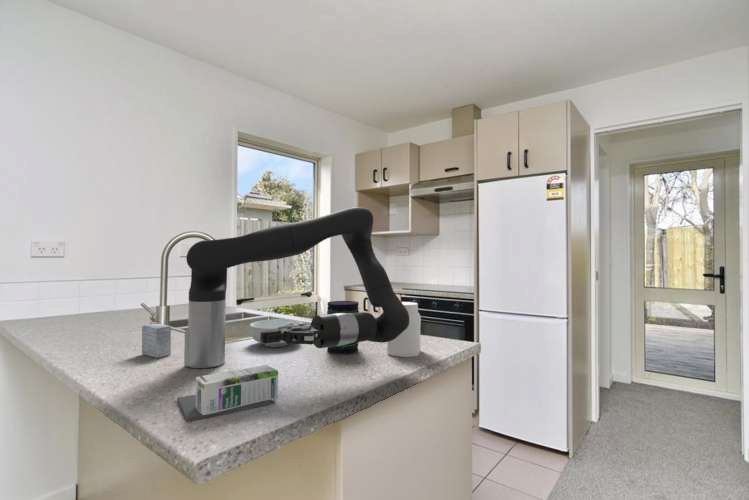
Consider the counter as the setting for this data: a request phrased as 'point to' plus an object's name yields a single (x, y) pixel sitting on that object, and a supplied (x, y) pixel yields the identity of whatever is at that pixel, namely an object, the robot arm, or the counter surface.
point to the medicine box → (156, 340)
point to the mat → (193, 414)
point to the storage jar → (343, 308)
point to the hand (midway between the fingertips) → (261, 337)
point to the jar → (407, 335)
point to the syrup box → (235, 389)
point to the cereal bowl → (269, 328)
